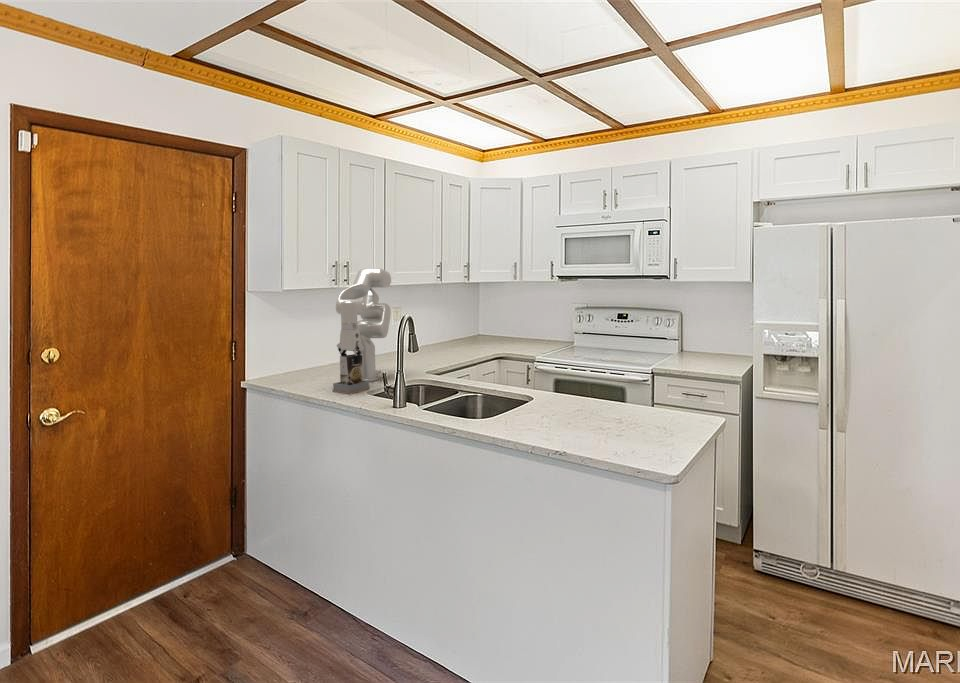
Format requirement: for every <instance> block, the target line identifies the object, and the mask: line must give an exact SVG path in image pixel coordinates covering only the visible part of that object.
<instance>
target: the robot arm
mask: <svg viewBox="0 0 960 683" xmlns="http://www.w3.org/2000/svg"><path fill="white" fill-rule="evenodd" d="M356 274H357V275H356V277H355V279H354V282H353V284H351V286H349V287H347V288H346V289H344V290H343V291H341V292H340V293H339V295H338V296H337V297H338V298H337V300H336V303H335V311H336V313H337V314H338V315H340V325H341V329H340V331H339V332H340V334H339V343H337V344H336V347H337V350H338V352H339V354H340V356H345V355H348V354H347V351H348V352H349V351H350V352H353V354H355V356H354V364H360V355H362V366H363V380H364V381H369V382H375V381H378V380H379V379H380V377H379V376H378V375H380V374H382V370H381V369H379V370H377V369H376V368H377V367H376V346H375V344H374V342H373V340H372V339H385V338H386V337H387V336H388V334H389V329H390V328H389V327H390V320H391V315H392V314H391V313H392V312H391V307H390V305H389V303H384V302H379V300H380V297H379V295H378V293H377V291H376V290H374V289H373V288H389V287H391V283H392V276H391V274H390V272H388V271H387V270H385V269H383V268H380V267H379V268H378V267H372V268H370V267H369V268H367V267H365V268H361V269H360V270H358V272H357V273H356ZM361 298H362V299H361ZM358 316H360V318H361V320H358Z"/></svg>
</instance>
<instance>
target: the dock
mask: <svg viewBox="0 0 960 683" xmlns="http://www.w3.org/2000/svg"><path fill="white" fill-rule="evenodd" d="M332 388H333V389H332V392H333V393H337V392H338V394H343V393H345V395H352V393H353V394H356V392H357V393H360V392H363V391H368V390H370V388H371V387H370V381H364V380H363V382H361V383H357V384H353V385H343V384H340V381H339V382H334V383H332Z"/></svg>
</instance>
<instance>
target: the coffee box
mask: <svg viewBox="0 0 960 683" xmlns="http://www.w3.org/2000/svg"><path fill="white" fill-rule="evenodd" d="M354 356H355V354H354V353H353V354H347V355H345V356H341V355H340V356H339V373H340V374H339V376H340V378H339V380H340V381H339V382H340V384H343V385H353V384H357V383H361V382H363V366H362V355H360V364H354Z"/></svg>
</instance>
